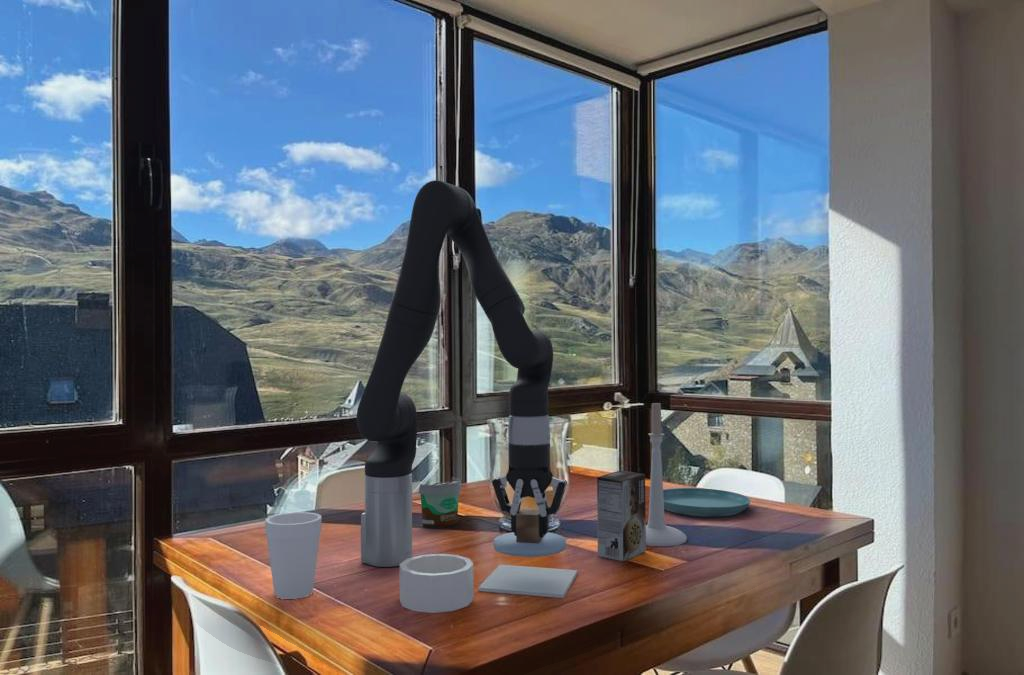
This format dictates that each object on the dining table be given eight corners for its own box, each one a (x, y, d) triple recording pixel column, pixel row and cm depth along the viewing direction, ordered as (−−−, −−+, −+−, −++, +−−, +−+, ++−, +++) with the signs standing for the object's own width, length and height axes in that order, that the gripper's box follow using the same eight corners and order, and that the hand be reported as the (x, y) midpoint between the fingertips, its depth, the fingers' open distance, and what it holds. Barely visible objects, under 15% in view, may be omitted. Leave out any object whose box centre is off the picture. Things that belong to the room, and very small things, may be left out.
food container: (438, 531, 176) (437, 487, 176) (418, 527, 179) (418, 484, 179) (473, 521, 186) (472, 479, 186) (453, 517, 189) (453, 476, 189)
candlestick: (630, 546, 163) (630, 403, 163) (623, 531, 176) (623, 399, 176) (692, 546, 163) (691, 403, 163) (680, 531, 175) (680, 398, 175)
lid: (484, 554, 135) (484, 518, 135) (504, 535, 147) (504, 503, 147) (558, 558, 131) (558, 522, 131) (572, 539, 144) (571, 506, 144)
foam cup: (327, 584, 138) (326, 511, 138) (315, 602, 129) (315, 524, 129) (273, 585, 138) (273, 512, 138) (258, 603, 129) (257, 525, 129)
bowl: (388, 608, 126) (388, 572, 126) (416, 585, 137) (416, 552, 137) (459, 615, 123) (458, 577, 123) (481, 591, 134) (481, 556, 134)
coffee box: (619, 546, 163) (619, 469, 163) (646, 551, 159) (646, 473, 159) (596, 556, 156) (595, 476, 156) (623, 562, 152) (623, 479, 152)
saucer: (749, 523, 184) (749, 509, 184) (647, 516, 191) (647, 503, 191) (751, 502, 207) (751, 490, 207) (659, 497, 214) (659, 485, 214)
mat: (478, 591, 134) (478, 587, 134) (499, 567, 148) (499, 564, 148) (563, 598, 131) (563, 594, 131) (577, 573, 144) (577, 570, 144)
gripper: (485, 442, 137) (486, 538, 137) (564, 444, 134) (565, 543, 134) (496, 436, 145) (497, 528, 145) (571, 438, 141) (572, 532, 141)
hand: (530, 535), depth 139 cm, fingers closed on lid, 4 cm apart
